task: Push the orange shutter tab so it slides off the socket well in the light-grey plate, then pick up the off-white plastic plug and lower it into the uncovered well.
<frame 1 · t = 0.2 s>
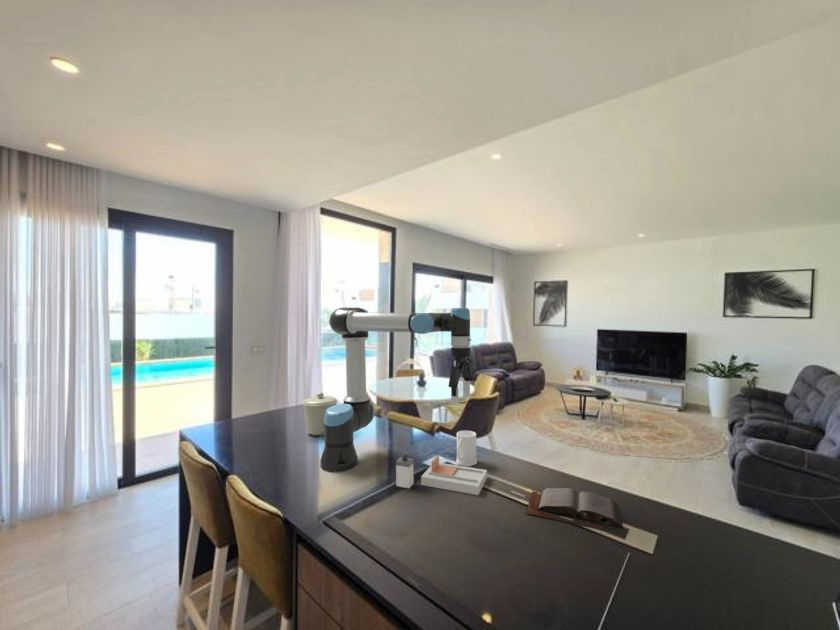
hand: (461, 400, 146), 27 cm above the kitchen island, fingers open, 13 cm apart
mug: (464, 464, 152), on the kitchen island
canister: (320, 432, 193), on the kitchen island
shutter: (444, 465, 137), point 5 cm above the kitchen island, slide at 0.0 cm
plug: (404, 484, 133), on the kitchen island
book: (575, 511, 117), on the kitchen island
socket plate: (454, 481, 136), on the kitchen island
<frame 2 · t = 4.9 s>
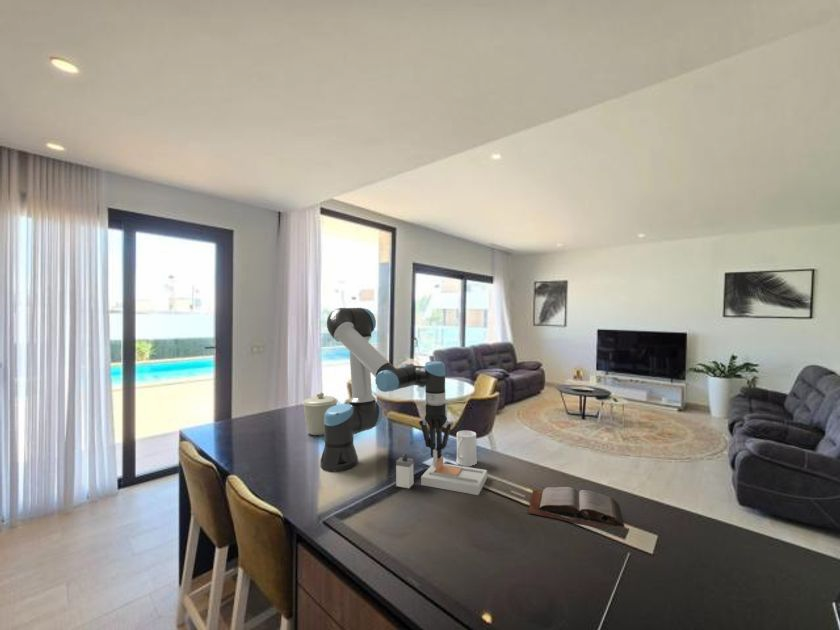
hand: (436, 466, 138), 5 cm above the kitchen island, fingers closed
shutter: (448, 466, 137), point 5 cm above the kitchen island, slide at 1.6 cm, touching gripper
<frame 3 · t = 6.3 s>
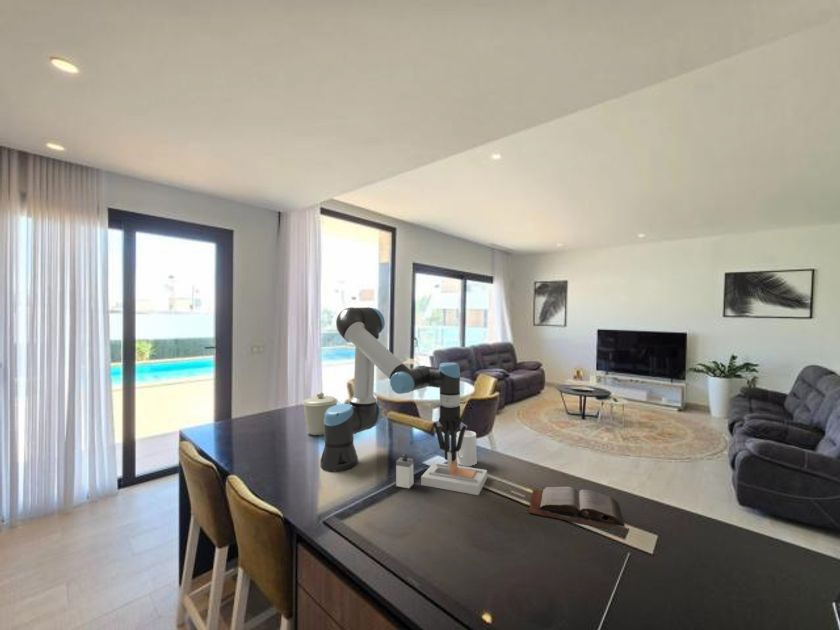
hand: (450, 468, 136), 4 cm above the kitchen island, fingers closed
shutter: (462, 468, 134), point 5 cm above the kitchen island, slide at 7.2 cm, touching gripper
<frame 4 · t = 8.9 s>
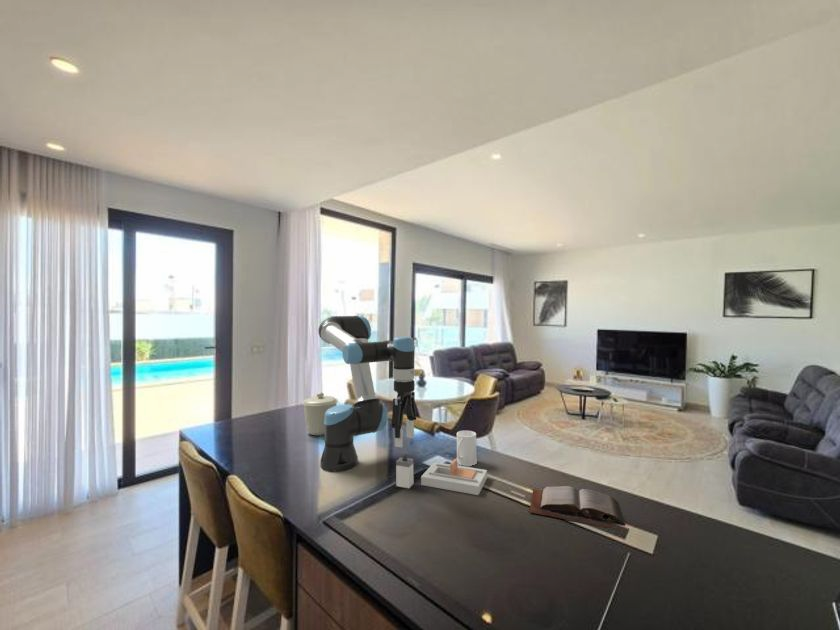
hand: (404, 441, 133), 15 cm above the kitchen island, fingers open, 9 cm apart
shutter: (463, 468, 134), point 5 cm above the kitchen island, slide at 7.2 cm
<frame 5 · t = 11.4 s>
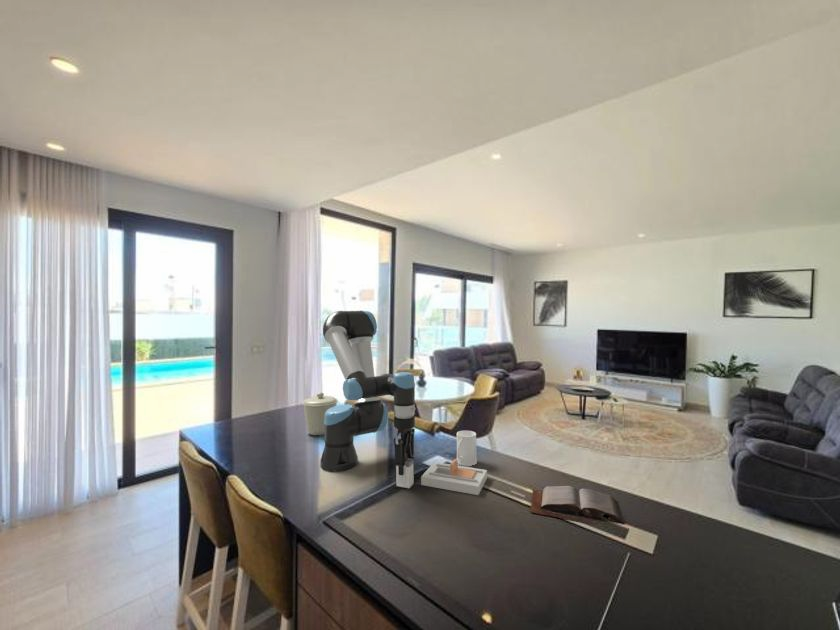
hand: (404, 480, 133), 2 cm above the kitchen island, fingers closed on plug, 4 cm apart
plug: (405, 484, 133), on the kitchen island, touching gripper
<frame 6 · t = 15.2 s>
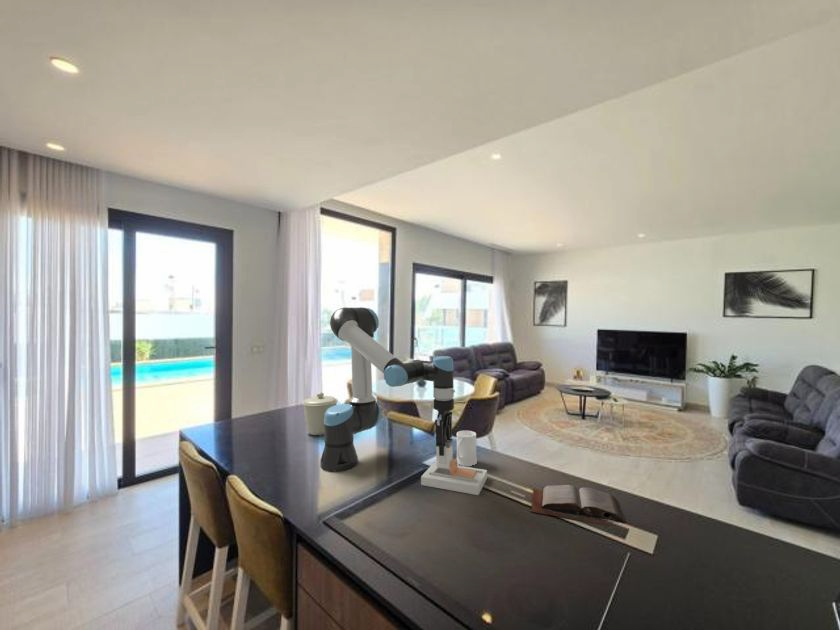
hand: (444, 461, 137), 7 cm above the kitchen island, fingers closed on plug, 4 cm apart
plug: (444, 465, 137), point 5 cm above the kitchen island, touching gripper
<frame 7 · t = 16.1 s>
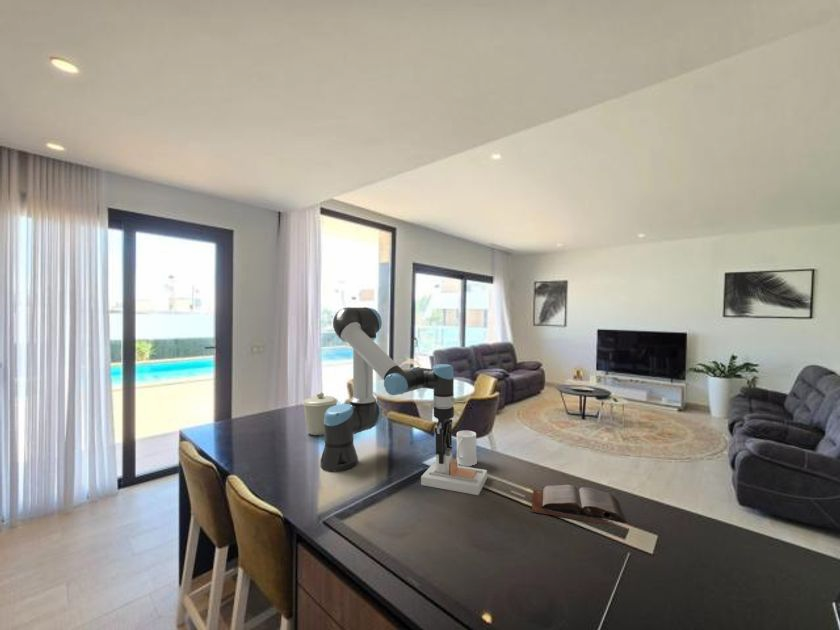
hand: (444, 469, 137), 4 cm above the kitchen island, fingers closed on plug, 4 cm apart
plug: (444, 473, 137), point 2 cm above the kitchen island, touching gripper
when the fingers open (4 cm above the kitchen island, at t = 16.2 s): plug drops 2 cm, resting on socket plate.
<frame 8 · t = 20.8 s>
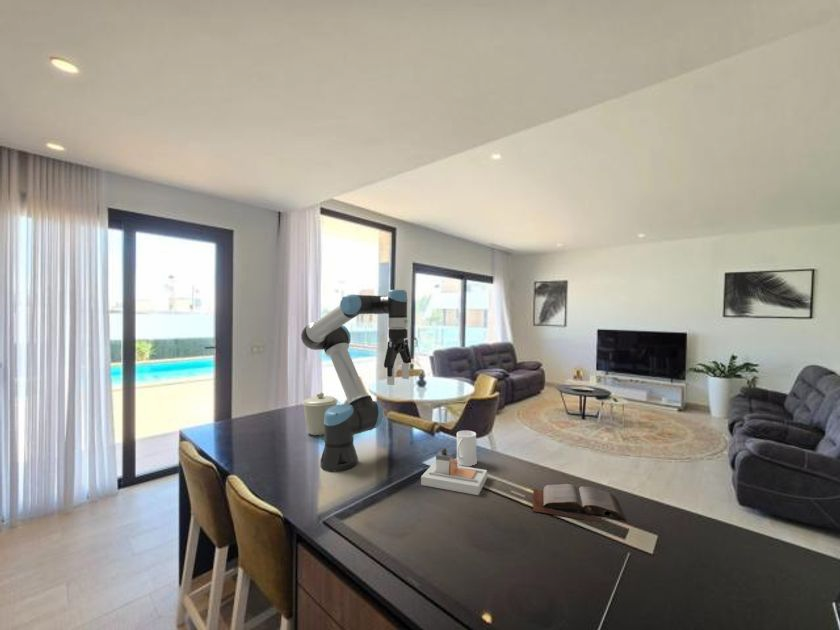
hand: (398, 381, 147), 35 cm above the kitchen island, fingers open, 13 cm apart
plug: (444, 478, 137), resting on socket plate
at the end: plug 0.0 cm from the target spot on the socket plate, point 0.5 cm above the socket plate's base; shutter slide at 7.2 cm; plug tilted 0° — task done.
